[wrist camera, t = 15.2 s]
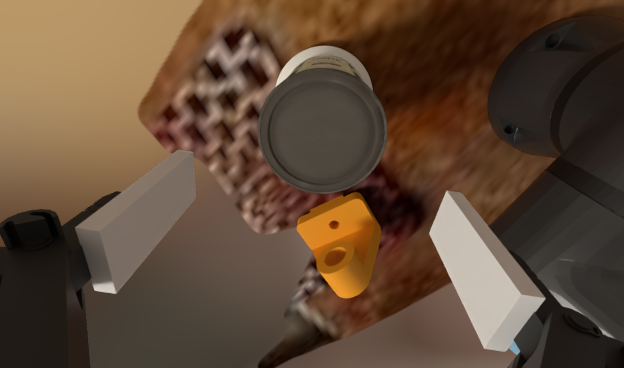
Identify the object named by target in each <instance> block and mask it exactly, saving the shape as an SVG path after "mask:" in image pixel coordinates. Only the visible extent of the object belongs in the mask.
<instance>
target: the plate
mask: <svg viewBox="0 0 624 368" xmlns="http://www.w3.org/2000/svg"><path fill="white" fill-rule="evenodd" d="M318 55H333V56H337V57H341V58H342V59H345V60H346V61H348V62H349V63H351V64H352V65H353V66H354V67H355V68H356V69H357V70H358V72H359V73H360V75H361V77H362V79H363V80H364V82H365V83H366V84H367V85H368V86H369V87H370V88H371V89H372V91H373V88H372V83H371V80H370V77H369V75H368V73H367V71H366V69H365V68H364V66H363V65H362V64H361V62H360V61H359V60H358V59H357V58H356V57H354V56H353V55H352V54H351V53H349V52H347V51H345V50H343V49H341V48H338V47H334V46H316V47H311V48H308V49H306V50H304V51H302V52H300V53H298V54H297V55H296V56H294V57H293V58H292V59H291V60H290V61H289V62H288V63H287V64H286V65H285V67H284V68H283V70H282V71H281V73H280V75H279V78H278V80H277V84H276V86H277V85H279V84H280V83H281V82H282V81H283V80H285V79H286V78H287V77H288V76H289V75H290V73H291V72H292V71H293V70H294V68H295V67H296V66H297V65H299V64H300V63H301V62H303V61H304V60H306V59H308V58H310V57H313V56H318Z"/></svg>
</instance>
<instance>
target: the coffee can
mask: <svg viewBox="0 0 624 368" xmlns="http://www.w3.org/2000/svg"><path fill="white" fill-rule="evenodd" d="M258 141H259V146H260V149H261V152H262V154H263V156H264V158H265V160H266V162H267V164H268V165H269V167H270V168H271V169H272V171H273V172H274V173H275V174H276V175H277V176H278V177H279V178H281V179H282V180H283V181H284V182H286V183H288V184H289V185H291V186H293V187H295V188H297V189H300V190H303V191H307V192H312V193H334V192H338V191H342V190H345V189H348V188H350V187H352V186H354V185H356V184H358V183H359V182H361V181H362V180H364V179H365V178H366V177H367V176H368V175H369V174H370V173H371V172H372V171H373V170H374V168H375V167H376V166H377V164H378V163H379V161H380V159H381V157H382V155H383V152H384V149H385V146H386V142H387V120H386V115H385V111H384V109H383V106H382V104H381V102H380V100H379V99H378V97H377V96H376V94H375V93H374V92H373V91H372V89H371V88H370V87H369V86H368V85H367V84H366V83H365V82H364V80H363V79H362V77H361V75H360V73H359V72H358V70H357V69H356V68H355V67H354V66H353V65H352V64H351V63H349V62H348V61H346V60H345V59H342V58H341V57H337V56H333V55H318V56H313V57H310V58H308V59H306V60H304V61H303V62H301V63H300V64H299V65H297V66H296V67H295V68H294V70H293V71H292V72H291V73H290V75H289V76H288V77H287V78H286V79H285V80H283V81H282V82H281V83H280V84H279V85H277V86H276V87H275V88H274V89H273V91H272V92H271V93H270V94H269V96H268V97H267V99H266V101H265V102H264V105H263V107H262V109H261V112H260V116H259V121H258Z"/></svg>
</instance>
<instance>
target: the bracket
mask: <svg viewBox="0 0 624 368" xmlns="http://www.w3.org/2000/svg"><path fill="white" fill-rule="evenodd" d="M297 231H298V232H299V234H300V235H301V236H302V238H303V239H304V240H305V242H306V243H307V244H308V246H309V247H310V248H311V250H312V252H313V254H314V256H315V258H316V260H317V269H318V270H319V272H320V273H321V274H322V276H323V277H324V278H325V280H326V281H327V282H328V284H329V285H330V286H331V287H332V289H333V290H334V291H335V293H336V294H337V295H338V296H340V297H342V298H351V297H354V296H356V295H358V294H360V293H361V292H362V291H363V290H364V289H365V288H366V287H367V286H368V284H369V282H370V278H371V274H372V270H373V267H374V263H375V259H376V255H377V251H378V247H379V243H380V239H381V236H382V232H381V228H380V225H379V224H378V222H377V220H376V218H375V217H374V215H373V213H372V212H371V210H370V208H369V207H368V205H367V203H366V201H365V200H364V198H363V196H362V195H361V194H360V193H358V192H354V193H351V194H349V195H347V196H345V197H344V196H343V195H341V196H339V197H337V198H335V199H333V200H330V201H328V202H326V203H324V204H322V205H320V206H318V207H316V208H313V209H311V210H310V213H308V214H306V215H304V216H302V217H300V218H299V220H298V225H297Z"/></svg>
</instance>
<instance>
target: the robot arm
mask: <svg viewBox="0 0 624 368" xmlns="http://www.w3.org/2000/svg"><path fill="white" fill-rule="evenodd" d="M488 116H489V120H490V123H491V126H492V128H493V130H494V131H495V133H496V134H497V135H498V136H499V137H500V138H501V139H502V140H503V141H505V142H506V143H508V144H509V145H511V146H512V147H514V148H516V149H517V150H519V151H522V152H525V153H528V154H531V155H537V156H545V157H554V158H557V159H556V160H555V161H554V162H553V163H552V164H551V165H550V166H549V167H548V168H547V169H545V170H544V171H543V172H542V173H541V174H540V176H539V177H538V178H537V179H536V180H535V181H534V182H533V183H532V184H531V185H530V186H529V187H528V188H527V189H526V190H525V191H524V192H523V193H522V194H521V195H520V196H519V197H518V198H517V199H516V200H515V201H514V202H513V203H512V204H511V205H510V206H509V207H508V208H507V209H506V210H505V211H504V212H503V213H502V214H501V215H500V216H499V217H498V218H497V219H496V220H495V221H494V222H493V223H492V224H491V225H487V224H486V223H485V222H484V220H483V219H482V218H481V217H480V215H479V214H478V213H477V212H476V210H475V209H474V208H473V207H472V205H471V204H470V203H469V202H468V200H467V199H466V198H465V197H464V195H463V194H462V193H459V192H453V191H446V193H445V196H444V198H443V201H442V203H441V206H440V208H439V210H438V213H437V215H436V218H435V220H434V223H433V225H432V227H431V230H430V232H429V234H430V236H431V238H432V240H433V242H434V244H435V247H436V249H437V251H438V253H439V255H440V257H441V259H442V261H443V263H444V265H445V267H446V270H447V272H448V274H449V276H450V278H451V280H452V282H453V284H454V286H455V288H456V290H457V292H458V294H459V297H460V299H461V301H462V303H463V305H464V307H465V309H466V311H467V313H468V315H469V318H470V320H471V322H472V324H473V326H474V328H475V330H476V332H477V334H478V336H479V339H480V341H481V343H482V345H483V347H484V349H490V350H497V351H504V352H506V350H507V349H508V348H509V349H510V350H512V351H513V352H514V353H515V354H516V355H517V356H516V357H515V359H514V360H513V361H512V362H511V364H510V365H509V366H508V368H624V20H621V19H618V18H614V17H609V16H581V17H572V18H567V19H563V20H560V21H557V22H554V23H552V24H549V25H547V26H545V27H543V28H541V29H540V30H538V31H536V32H535V33H533V34H532V35H530V36H529V37H527V38H526V39H525V40H524V41H522V42H521V43H520V44H519V45H518V46H517V47H516V48H515V49H514V50H513V51H512V52H511V53H510V54H509V56H508V57H507V58H506V59H505V61H504V62H503V64H502V65H501V67H500V68H499V70H498V72H497V73H496V75H495V78H494V80H493V82H492V85H491V88H490V92H489V96H488ZM195 198H196V191H195V176H194V160H193V152H190V151H183V150H177V151H176V152H174V153H173V154H172V155H170V156H169V157H168V158H167V159H165V160H164V161H163V162H161V163H160V164H159V165H157V166H156V167H155V168H153V169H152V170H151V171H149V172H148V173H147V174H145V175H144V176H143V177H142V178H140V179H139V180H137V181H136V182H135V183H134V184H132V185H131V186H129V187H128V188H127V189H125V190H124V191H123V192H118V191H117V192H114V193H111V194H109V195H106V196H104V197H102V198H101V199H99V200H98V201H97V202H95V203H94V204H93V206H92V205H91V206H89V207H88V208H87V209H85V211H84V212H83V211H82V212H81V213H80V214H78V215H77V216H76V217H74V218H73V219H71V220H70V221H69V222H67V223H66V224H64V225H63V226H61V224H60V221H59V218H58V215H57V213H56V212H54V211H51V210H44V209H40V210H30V211H26V212H22V213H18V214H16V215H14V216H11V217H9V218H7V219H6V220H4V221H3V222H1V223H0V235H1V237H2V239H3V241H4V243H5V246H6V247H0V368H90V355H89V343H88V331H87V319H86V308H85V296H84V291H83V288H82V287H83V286H84V285H85V284H86V283H87V282H88V281H89V280H90V279H91V281H92V284H93V287H94V290H95V291H101V292H108V293H115V294H116V293H117V292H118V291H119V289H121V287H122V286H123V285H124V284H125V283H126V281H127V280H128V279H129V278H130V277H131V275H132V274H133V273H134V272H135V271H136V269H137V268H138V267H139V266H140V265H141V263H142V262H143V261H144V260H145V259H146V257H147V256H148V255H149V254H150V253H151V251H152V250H153V249H154V248H155V247H156V245H157V244H158V243H159V242H160V241H161V239H162V238H163V237H164V236H165V234H166V233H167V232H168V231H169V230H170V229H171V227H172V226H173V225H174V223H176V221H177V220H178V219H179V218H180V217H181V215H182V214H183V213H184V212H185V210H186V209H187V208H188V207H189V206H190V204H191V203H192V202H193V201H194V200H195Z"/></svg>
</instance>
